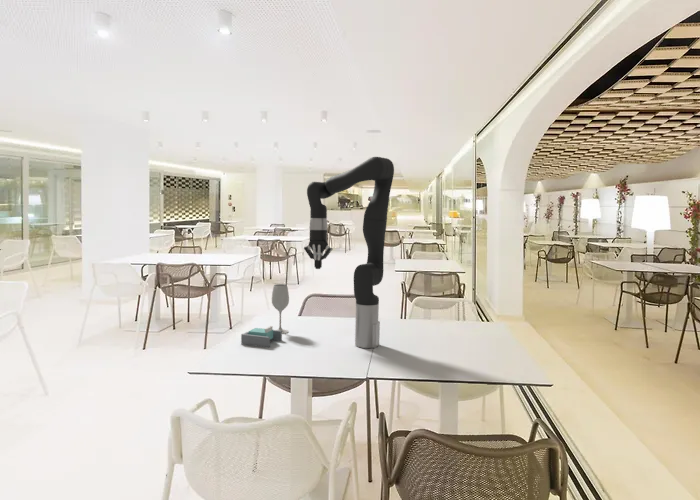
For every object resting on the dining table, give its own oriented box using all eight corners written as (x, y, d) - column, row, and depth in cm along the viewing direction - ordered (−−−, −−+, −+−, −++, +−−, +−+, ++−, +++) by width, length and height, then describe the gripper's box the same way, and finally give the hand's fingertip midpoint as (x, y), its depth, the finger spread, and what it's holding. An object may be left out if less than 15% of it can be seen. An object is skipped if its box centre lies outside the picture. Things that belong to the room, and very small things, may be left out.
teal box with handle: (273, 341, 200) (273, 326, 199) (266, 345, 194) (266, 329, 194) (255, 339, 202) (255, 324, 202) (248, 343, 197) (248, 327, 196)
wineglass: (290, 330, 219) (290, 284, 217) (286, 334, 211) (286, 286, 209) (274, 329, 219) (274, 283, 218) (269, 333, 212) (269, 286, 210)
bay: (281, 340, 202) (281, 330, 201) (268, 347, 191) (268, 337, 190) (255, 337, 206) (256, 328, 205) (241, 344, 195) (241, 334, 194)
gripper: (335, 229, 209) (335, 268, 211) (307, 228, 214) (307, 267, 215) (329, 229, 202) (329, 270, 204) (300, 228, 207) (300, 268, 208)
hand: (317, 268), depth 209 cm, fingers closed
